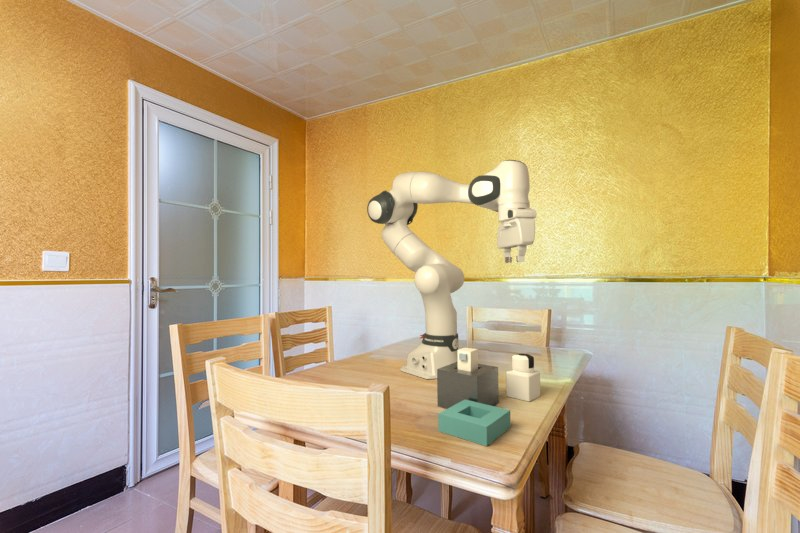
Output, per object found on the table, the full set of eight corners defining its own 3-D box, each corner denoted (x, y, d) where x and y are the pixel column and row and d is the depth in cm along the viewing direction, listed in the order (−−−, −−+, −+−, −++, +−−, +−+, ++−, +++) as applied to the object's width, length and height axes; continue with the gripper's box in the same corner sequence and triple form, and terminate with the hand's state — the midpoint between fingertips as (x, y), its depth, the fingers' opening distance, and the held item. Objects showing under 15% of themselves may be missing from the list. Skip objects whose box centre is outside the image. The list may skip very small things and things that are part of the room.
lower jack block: (438, 431, 86) (438, 413, 86) (465, 415, 95) (464, 399, 95) (486, 446, 78) (486, 427, 79) (510, 427, 88) (510, 410, 88)
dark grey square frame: (437, 406, 102) (437, 369, 102) (460, 394, 111) (459, 360, 111) (477, 416, 94) (477, 376, 94) (498, 403, 103) (498, 366, 104)
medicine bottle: (518, 390, 114) (517, 351, 114) (540, 396, 109) (540, 354, 109) (505, 396, 109) (505, 354, 109) (529, 402, 104) (528, 358, 104)
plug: (456, 383, 102) (455, 350, 102) (465, 379, 106) (464, 347, 106) (469, 386, 99) (469, 352, 99) (478, 382, 103) (477, 349, 103)
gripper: (492, 220, 121) (492, 263, 121) (516, 209, 101) (516, 261, 101) (511, 220, 122) (511, 263, 121) (539, 210, 101) (539, 261, 101)
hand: (514, 262), depth 111 cm, fingers open, 8 cm apart
